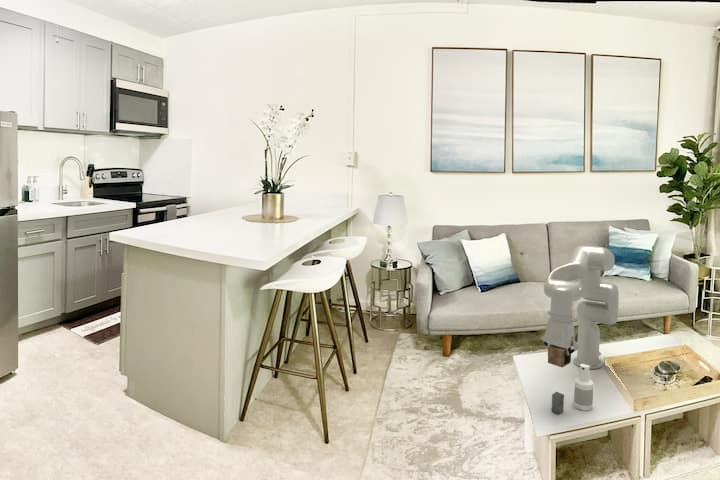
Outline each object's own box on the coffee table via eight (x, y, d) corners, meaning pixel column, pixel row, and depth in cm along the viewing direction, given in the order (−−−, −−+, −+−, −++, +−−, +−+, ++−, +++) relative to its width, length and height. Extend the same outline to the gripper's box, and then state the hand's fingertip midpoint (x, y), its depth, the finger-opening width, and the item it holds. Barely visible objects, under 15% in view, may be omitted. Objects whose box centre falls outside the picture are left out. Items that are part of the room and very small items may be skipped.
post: (555, 408, 192) (556, 391, 190) (563, 411, 189) (563, 394, 188) (551, 411, 190) (552, 394, 188) (559, 414, 187) (559, 397, 186)
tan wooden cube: (547, 362, 187) (548, 345, 185) (555, 358, 190) (556, 341, 189) (562, 367, 182) (563, 350, 181) (570, 363, 186) (570, 345, 184)
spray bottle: (571, 406, 193) (572, 365, 189) (577, 400, 197) (579, 360, 194) (588, 412, 188) (590, 370, 185) (594, 406, 192) (596, 364, 189)
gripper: (535, 314, 187) (533, 357, 190) (577, 325, 174) (575, 370, 177) (545, 309, 192) (543, 351, 195) (587, 320, 179) (585, 364, 182)
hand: (559, 360), depth 186 cm, fingers closed on tan wooden cube, 5 cm apart
